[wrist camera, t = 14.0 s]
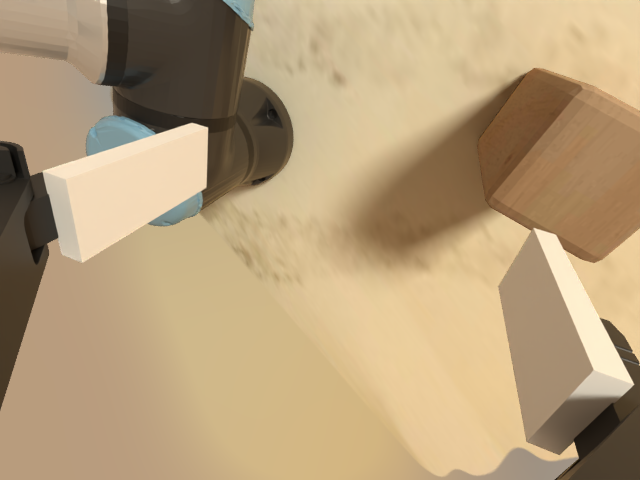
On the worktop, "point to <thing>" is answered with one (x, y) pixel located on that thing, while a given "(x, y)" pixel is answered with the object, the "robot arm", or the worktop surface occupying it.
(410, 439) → the worktop surface
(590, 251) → the wooden block
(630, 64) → the worktop surface
